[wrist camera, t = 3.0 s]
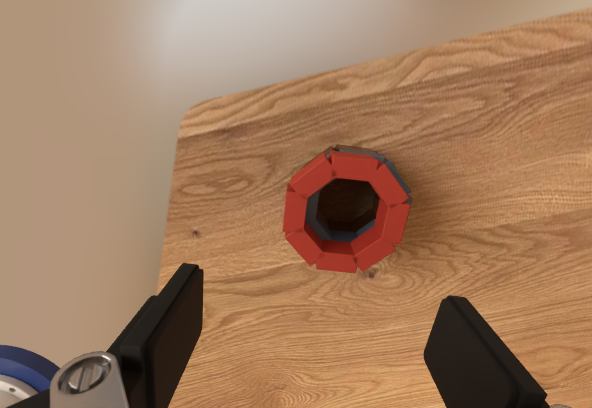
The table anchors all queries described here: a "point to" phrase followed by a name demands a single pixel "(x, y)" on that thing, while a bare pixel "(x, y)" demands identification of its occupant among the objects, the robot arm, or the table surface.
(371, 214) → the ring bottom
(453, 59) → the table surface
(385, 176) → the ring top
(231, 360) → the table surface
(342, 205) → the table surface
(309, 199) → the ring middle
